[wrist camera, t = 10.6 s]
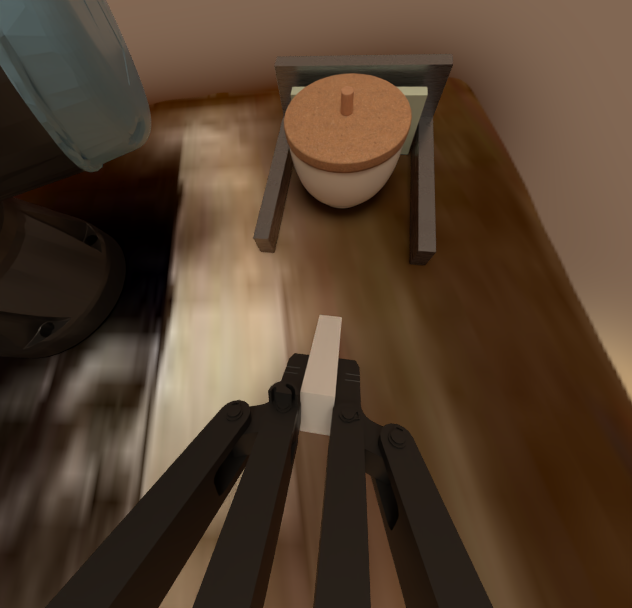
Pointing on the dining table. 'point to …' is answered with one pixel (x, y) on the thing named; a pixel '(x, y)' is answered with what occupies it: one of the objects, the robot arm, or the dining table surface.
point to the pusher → (416, 102)
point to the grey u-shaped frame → (422, 210)
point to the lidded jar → (346, 136)
